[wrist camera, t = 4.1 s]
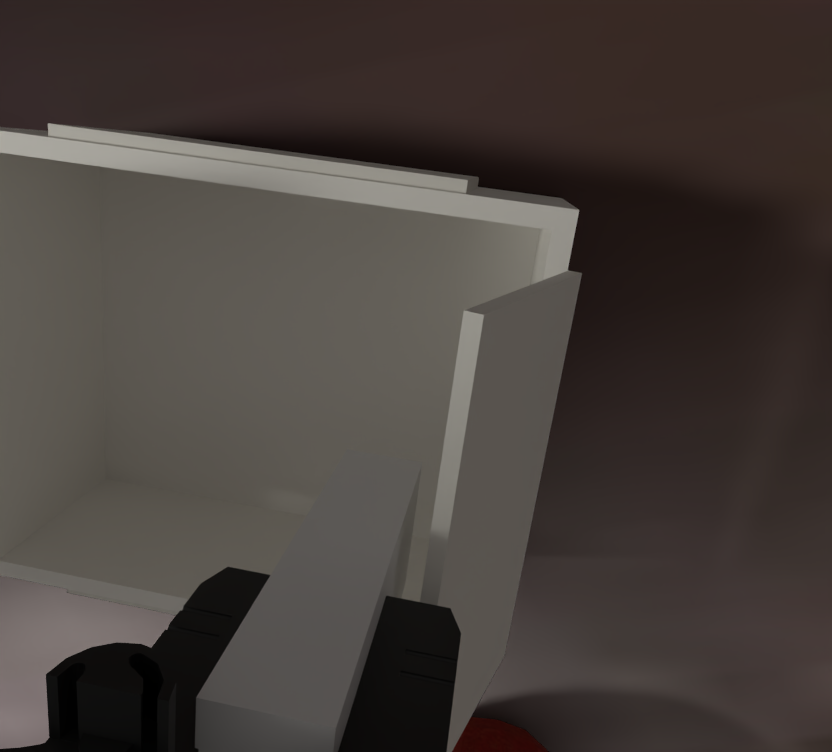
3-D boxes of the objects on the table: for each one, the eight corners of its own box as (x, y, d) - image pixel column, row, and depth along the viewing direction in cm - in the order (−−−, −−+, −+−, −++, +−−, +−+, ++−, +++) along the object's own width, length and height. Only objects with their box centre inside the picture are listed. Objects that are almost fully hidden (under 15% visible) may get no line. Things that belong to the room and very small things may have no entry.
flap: (568, 270, 15) (582, 272, 14) (493, 650, 18) (504, 655, 18) (463, 310, 9) (484, 315, 9) (383, 841, 12) (398, 849, 12)
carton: (101, 489, 26) (-16, 580, 20) (93, 124, 22) (-57, 109, 16) (493, 563, 24) (486, 684, 19) (563, 187, 20) (582, 195, 15)
